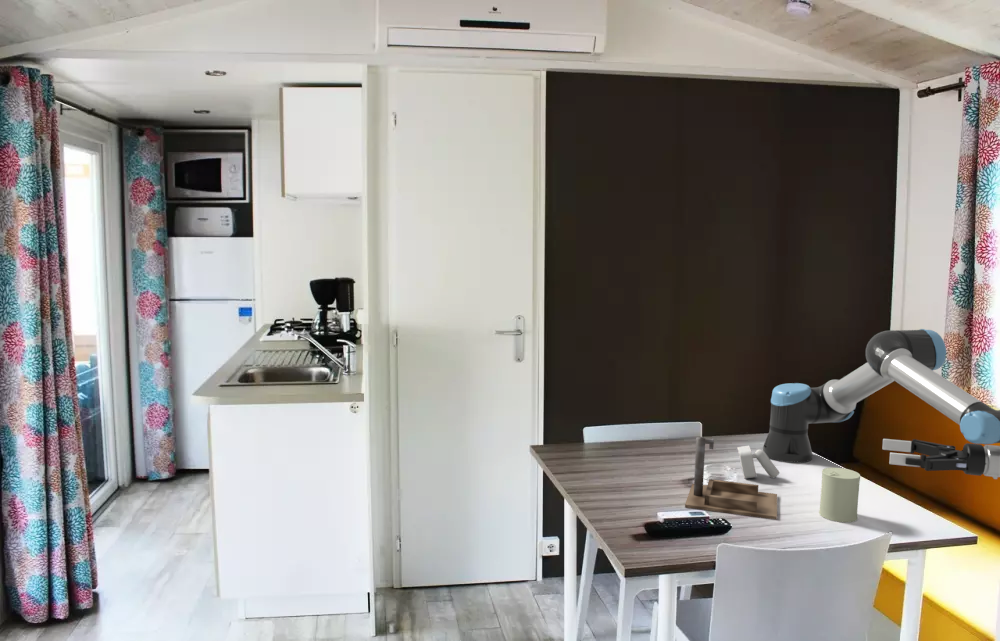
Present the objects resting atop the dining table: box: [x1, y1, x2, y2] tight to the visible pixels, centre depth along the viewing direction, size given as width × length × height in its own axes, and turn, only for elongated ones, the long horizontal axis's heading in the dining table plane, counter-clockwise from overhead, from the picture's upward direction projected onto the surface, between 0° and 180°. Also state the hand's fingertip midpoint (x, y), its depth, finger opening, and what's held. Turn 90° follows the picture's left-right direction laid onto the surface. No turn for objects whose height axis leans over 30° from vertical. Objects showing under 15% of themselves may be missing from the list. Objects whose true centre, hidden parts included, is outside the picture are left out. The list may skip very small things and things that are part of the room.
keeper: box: [684, 436, 778, 520], centre depth 209 cm, size 23×18×17 cm
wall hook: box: [736, 445, 780, 480], centre depth 231 cm, size 8×10×10 cm
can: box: [818, 467, 861, 523], centre depth 200 cm, size 9×9×12 cm
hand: (886, 450), depth 195 cm, fingers open, 13 cm apart
